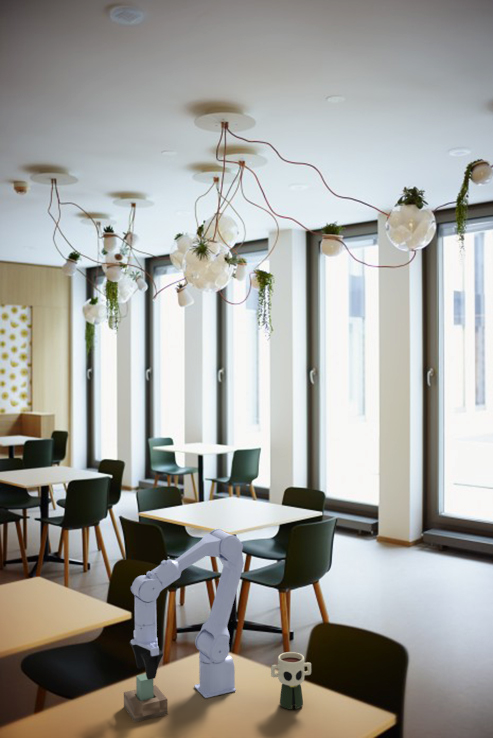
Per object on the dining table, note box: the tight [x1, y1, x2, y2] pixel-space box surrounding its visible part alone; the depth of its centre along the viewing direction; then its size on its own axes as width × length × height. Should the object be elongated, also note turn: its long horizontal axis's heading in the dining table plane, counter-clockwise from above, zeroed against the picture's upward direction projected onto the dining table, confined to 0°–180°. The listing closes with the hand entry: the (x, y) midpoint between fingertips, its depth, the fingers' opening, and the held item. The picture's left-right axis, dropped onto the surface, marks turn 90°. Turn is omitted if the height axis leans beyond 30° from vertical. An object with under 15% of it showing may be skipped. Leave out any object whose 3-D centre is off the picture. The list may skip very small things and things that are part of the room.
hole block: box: [123, 684, 169, 723], centre depth 192 cm, size 9×9×4 cm
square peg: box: [135, 673, 154, 701], centre depth 192 cm, size 4×4×8 cm
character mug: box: [270, 651, 312, 710], centre depth 194 cm, size 11×7×13 cm, turn 98°
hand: (146, 672), depth 193 cm, fingers open, 7 cm apart
